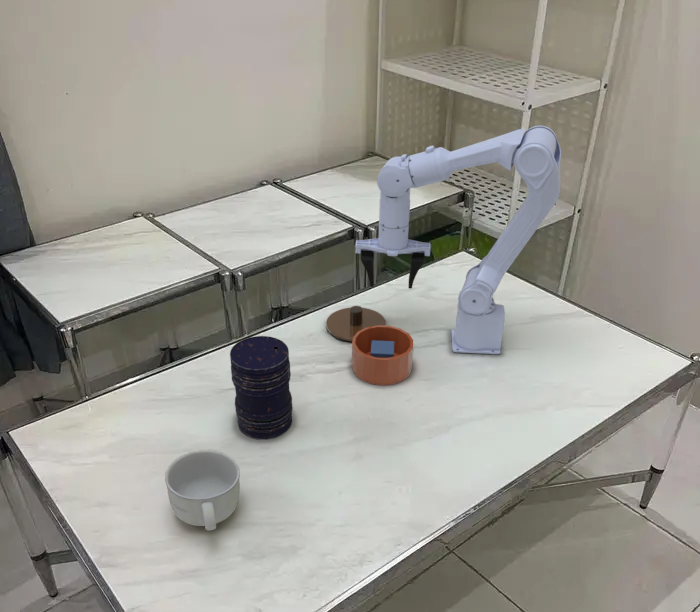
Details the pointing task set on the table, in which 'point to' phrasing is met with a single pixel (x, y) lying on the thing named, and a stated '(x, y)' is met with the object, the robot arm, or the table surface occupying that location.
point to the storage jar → (262, 386)
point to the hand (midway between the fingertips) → (391, 285)
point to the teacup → (203, 487)
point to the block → (382, 349)
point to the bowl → (382, 368)
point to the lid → (352, 321)
